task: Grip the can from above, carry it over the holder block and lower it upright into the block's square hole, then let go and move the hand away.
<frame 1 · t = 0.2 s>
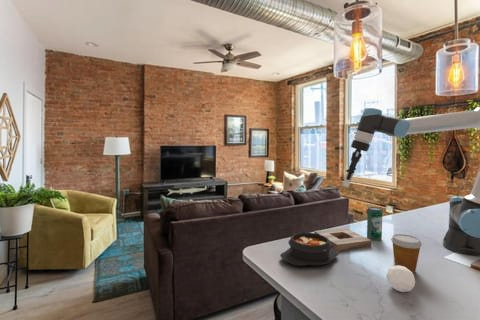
hand: (346, 183, 125), 27 cm above the kitchen island, tool tilted 15°, fingers open, 13 cm apart
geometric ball: (400, 290, 83), on the kitchen island
casserole: (309, 259, 106), on the kitchen island
can: (374, 238, 127), on the kitchen island
disposable coffee cup: (404, 270, 96), on the kitchen island
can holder: (341, 241, 124), on the kitchen island
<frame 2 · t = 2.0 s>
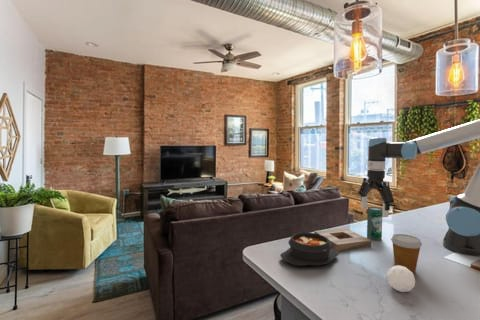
hand: (374, 213, 127), 13 cm above the kitchen island, tool pointing down, fingers open, 13 cm apart
nothing on the kitchen island moved.
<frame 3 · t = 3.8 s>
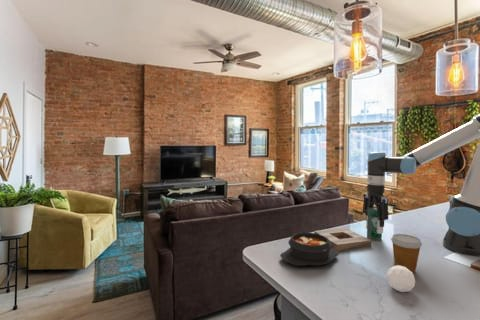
hand: (374, 230, 127), 4 cm above the kitchen island, tool pointing down, fingers closed on can, 6 cm apart
can: (374, 238, 127), on the kitchen island, touching gripper
everything else where it was.
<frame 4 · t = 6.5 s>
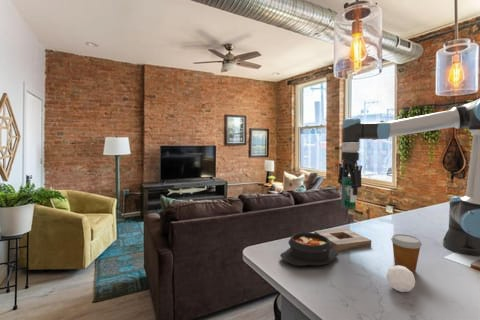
hand: (348, 200, 124), 20 cm above the kitchen island, tool pointing down, fingers closed on can, 6 cm apart
can: (348, 208, 124), point 16 cm above the kitchen island, touching gripper
everything else where it was.
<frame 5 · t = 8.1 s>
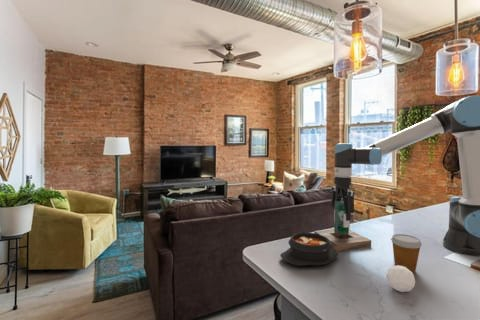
hand: (341, 224, 123), 8 cm above the kitchen island, tool pointing down, fingers closed on can, 6 cm apart
can: (341, 233, 123), point 4 cm above the kitchen island, touching gripper
everything else where it was.
when the fingers open (5 cm above the kitchen island, at t = 9.4 s): can drops 1 cm, resting in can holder.
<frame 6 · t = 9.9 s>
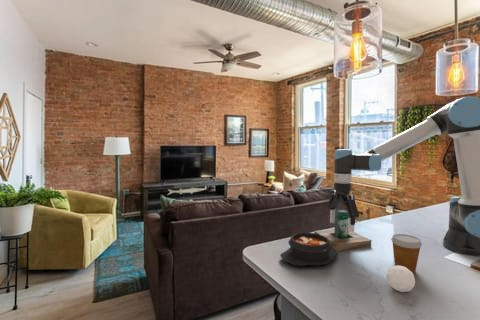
hand: (341, 227, 123), 7 cm above the kitchen island, tool pointing down, fingers open, 13 cm apart
can: (341, 242, 124), resting in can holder
everything else where it was.
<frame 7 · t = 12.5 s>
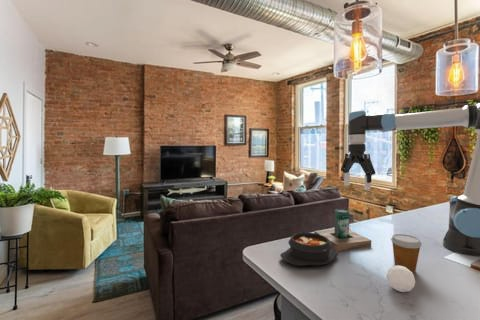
hand: (356, 187, 126), 25 cm above the kitchen island, tool pointing down, fingers open, 13 cm apart
nothing on the kitchen island moved.
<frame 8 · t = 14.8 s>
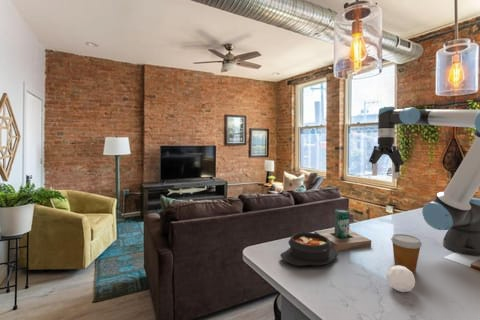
hand: (384, 177, 138), 29 cm above the kitchen island, tool pointing down, fingers open, 13 cm apart
nothing on the kitchen island moved.
at the end: can 0.1 cm off-centre on the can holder, point 0.0 cm above the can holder's base; can tilted 0°; the gripper is holding nothing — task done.
